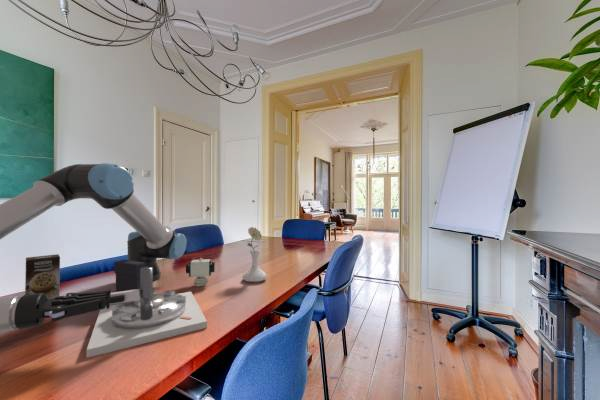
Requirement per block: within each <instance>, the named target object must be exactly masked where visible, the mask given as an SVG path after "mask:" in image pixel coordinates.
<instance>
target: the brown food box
mask: <svg viewBox="0 0 600 400" xmlns="http://www.w3.org/2000/svg"><path fill="white" fill-rule="evenodd" d="M60 275H61V256H60V254H59V253H58V254H49V255H40V256H39V255H38V256H30V257H29V256H28V257H26V258H25V281H24V282H25V283H24V284H25V285H24V295H28V294H36V293H44V294H45V295H46V298H47V299H48V300H50V299H54V298H55V297H58V296H61V295H60V284H61V283H60V282H61V281H60V280H61V276H60Z"/></svg>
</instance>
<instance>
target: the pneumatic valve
mask: <svg viewBox="0 0 600 400" xmlns="http://www.w3.org/2000/svg"><path fill="white" fill-rule="evenodd" d="M215 271H216V261H213V259H212V258H210V259H209V258H208V259H207V258H206V259H204V258H202V257H199V259H191V260H190V261H189V262H187V263H186V264H185V273H186V274H187V275H188V277H189V278H190V277H191V278H192V277H193V278H194V277H196V278H194V280H193V284H194V285H195V287H204V286H206V285H207V284H208V278H207V277H210V276H212V273H215Z"/></svg>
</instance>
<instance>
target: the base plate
mask: <svg viewBox="0 0 600 400" xmlns="http://www.w3.org/2000/svg"><path fill="white" fill-rule="evenodd" d="M178 294H179V295H182V296H186V309H185V311H184V312H183V313H182V314H181V315H180V316H178V317H177V318H175V319H173V320H171V321H168V322H166V323H163V324H160V325H156V326H152V327H147V328H139V329H124V328H119V327H116V326H115V325H113V323H112V308H113V306H114V305H117V304H112V305H110V308H109V309H106V306H105V309H101V310H99V313H98V316H97V319H96V321H95V324H94V328H93V330H92V333H91V337H90V339H89V341H88V345H87V348H86V358H91V357H95V356H99V355H104V354H108V353H112V352H116V351H119V350H124V349H128V348H131V347H132V348H133V347H135V346H139V345H144V344H148V343H151V342H155V341H160V340H163V339H168V338H172V337H175V336H180V335H182V334H186V333H191V332H192V333H193V332H196V331H199V330H204V329H207V328H208V320H207V319H206V316H205V314H204V313H203V311H202V309H201V307H200V306H199V304H198V302H197V300H196V298H195V296H194V294H193V293H192V291H186V292H181V293H178Z"/></svg>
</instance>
